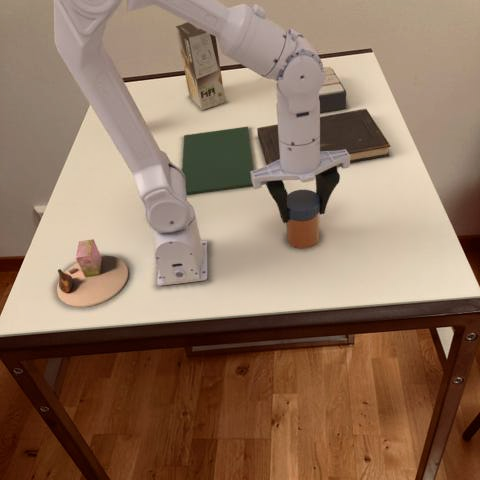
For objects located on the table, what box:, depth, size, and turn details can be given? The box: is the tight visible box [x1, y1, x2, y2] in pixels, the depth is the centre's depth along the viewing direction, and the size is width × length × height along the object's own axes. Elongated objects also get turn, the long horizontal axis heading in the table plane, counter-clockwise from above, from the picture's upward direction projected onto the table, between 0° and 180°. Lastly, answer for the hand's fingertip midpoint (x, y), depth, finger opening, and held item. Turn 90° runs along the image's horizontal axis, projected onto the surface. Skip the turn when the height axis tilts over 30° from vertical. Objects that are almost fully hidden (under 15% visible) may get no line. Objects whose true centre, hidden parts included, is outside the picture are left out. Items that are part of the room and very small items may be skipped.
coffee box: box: [175, 21, 226, 111], centre depth 116 cm, size 9×6×16 cm
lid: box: [287, 189, 320, 221], centre depth 79 cm, size 6×6×2 cm
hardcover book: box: [256, 108, 391, 165], centre depth 101 cm, size 16×23×2 cm
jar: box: [285, 213, 320, 249], centre depth 81 cm, size 5×5×7 cm
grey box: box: [319, 66, 347, 113], centre depth 115 cm, size 11×4×15 cm
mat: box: [181, 126, 254, 196], centre depth 103 cm, size 22×14×1 cm, turn 3°
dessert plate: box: [56, 239, 130, 308], centre depth 82 cm, size 12×12×4 cm
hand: (302, 215), depth 80 cm, fingers closed on lid, 5 cm apart
